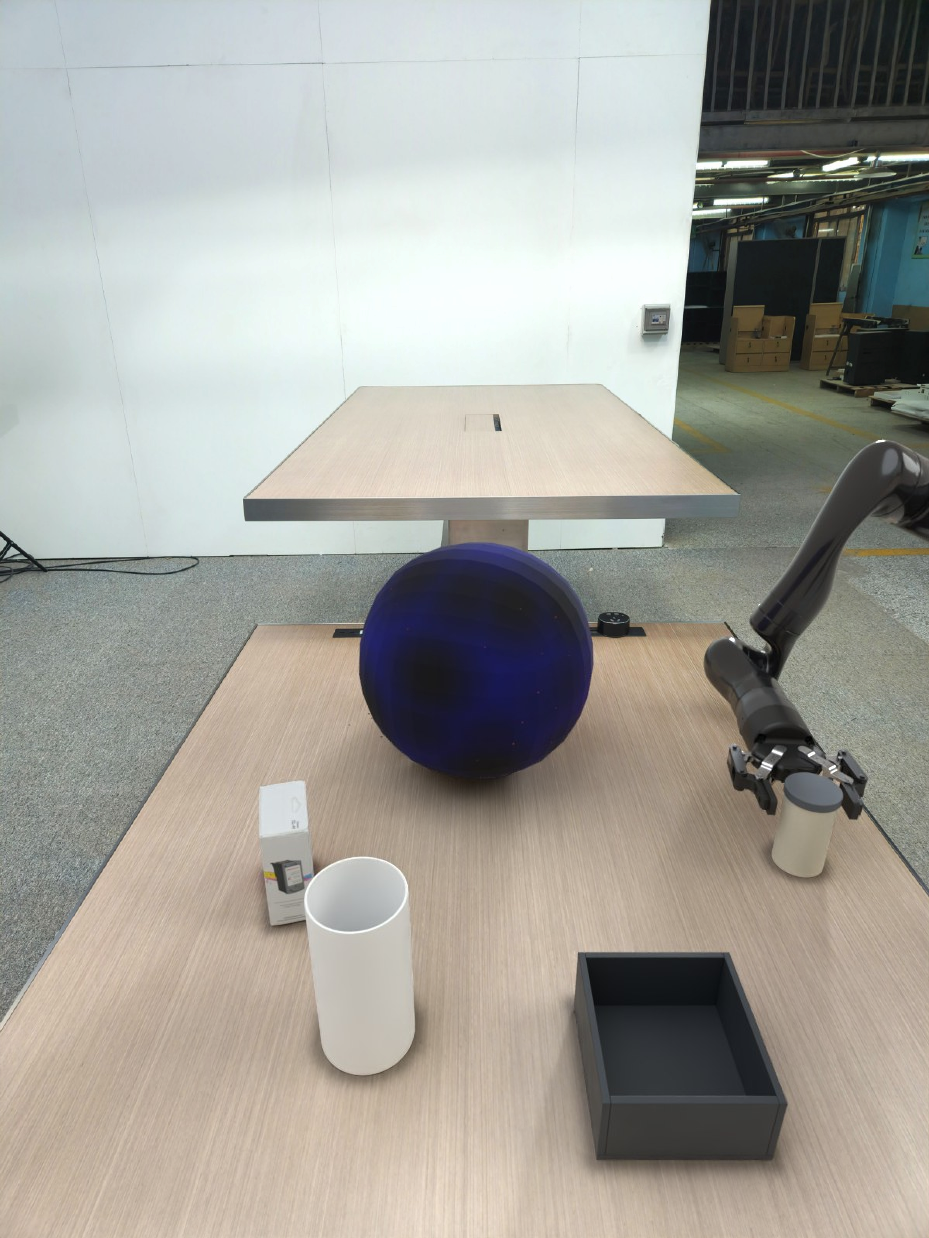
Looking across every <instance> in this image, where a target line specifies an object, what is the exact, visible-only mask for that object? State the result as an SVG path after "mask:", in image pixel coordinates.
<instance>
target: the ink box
mask: <svg viewBox="0 0 929 1238" xmlns="http://www.w3.org/2000/svg"><path fill="white" fill-rule="evenodd" d="M258 791H259V792H258V795H259V796H258V839H259V846H260V853H261V862H262V870H263V877H264V884H265V885H264V886H265V893H266V901H267V908H268V917H269V924H270V926H281V925H285V924H290V923H297V922H302V921H306V916H305V907H304V898H305V893H306V889H307V887H308V885H309V883H310V882H311V880H312V879H313V878H314V877H315V872H314V859H313V849H312V840H311V839H312V838H311V827H310V818H309V807H308V799H307V798H308V797H307V788H306V781H305V780H303V779H302V780H301V779H300V780H292V781H286V782H281V783H271V784H265V785H260V786H259V790H258Z"/></svg>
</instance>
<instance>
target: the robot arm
mask: <svg viewBox="0 0 929 1238" xmlns="http://www.w3.org/2000/svg"><path fill="white" fill-rule="evenodd" d="M868 517H869V518H872V519H873V520H875V521H877V522H880V523H882V524H884V525H887V526H889V527H891V528H895V529H897V530H900V531H903V532H905V533H907V534H909V535H911V536H913V537H915V538H918V539H919V540H921V541H924V542H925V543H927V544H929V457H925V456H924V455H922V454H920V453H918V452H916V451H914V450H913V449H911V448H909V447H907V446H905V445H903V444H901V443H898V442H897V441H894V440H889V439H882V440H876V441H874V442H872V443H871V442H870V443H869V444H868V445H866V446H864V447H863V448H862V449H860V450H859V451H858V452H857V453H856V454H855V455H854V456H853V457H852V458H851V460H850V461H849V462H848V464H847V465H846V467H845V468H844V469H843V470H842V472H841V474H840V475H839V477H838V479H837V481H836V482H835V484H834V486H833V488H832V489H831V491H830V493H829V495H828V496H827V498H826V499H825V502H824V504H823V505H822V507H821V509H820V510H819V512H818V514H817V516H816V518H815V519H814V521H813V523H812V525H811V526H810V528H809V530H808V531H807V534H806V535H805V538H804V540H803V541H802V543H801V544H800V546H799V549H798V550H797V552H796V553H795V555H794V556H793V558H792V559H791V561H790V563H789V565H787V567H786V568H785V570H784V571H783V572H782V574H781V576H780V577H779V578H778V580H776V582H775V583H774V584H773V586H771V588H770V589H769V591H768V592H767V593H766V594H765V596H764V597H763V598H762V600H761V601H760V602H759V604H758V605H757V606H756V607H755V609H754V610H753V611H752V612H751V615H750V617H749V618H748V619H749V626H750V628H751V629H752V631H753V632H754V633H755V634H756V635H757V636H759V637H760V639H762V640H763V641H764V642H765V645H764V647H762V649H759V648H757V647H755V646H753V645H751V644H748V643H746V642H744V640H743V641H742V640H740V639H739V638H737V637H733V636H722V637H719V638H717V639H715V640H714V641H712V642H711V643H710V644H709V646H708V647H706V650H705V653H704V656H703V662H702V663H703V664H702V666H703V671H704V675H705V677H706V678H707V680H708V682H709V683H710V684H711V685H712V687H713V688H714V689H715V690H716V691H717V692H718V694H719V695H720V696H721V697H722V698H723V699H724V700H726V701H727V702H728V704H729V705H730V707H731V710H732V712H733V714H734V716H735V719H736V724H737V727H738V731H739V732H738V733H739V734H740V736H741V738H742V740H743V742H744V744H745V746H746V749H747V750H742V749H741V746H740V745H738V744H735V743H731V744H729V747H728V752H727V753H728V754H727V758H726V759H727V760H726V765H727V769H728V773H729V776H730V780H731V784H732V787H733V789H734V790H735V791H738V792H744V791H745V790H747V791H749V792H751V794H752V795H753V796H754V797H755V800H756V802H757V804H758V807H759V809H761V811H765V813H766V815H767V816H776V814H777V810H778V804H779V803H778V802H779V801H778V797H777V795H776V792H775V791H774V787H773V785H774V784H776V782H780V783H781V784H784V783H785V780H786V778H787V777H788V776H789V775H791V774H794V773H800V772H805V773H813V774H817V775H821V773H822V775H821V776H823V777H826V778H828V779H830V780H831V781H833V782H834V780H835V781H836V782H839V785H838V786H839V787H840V789H841V790H842V792H843V800H842V804H841V806H840V807H841V808H842V809H843V812H844V814H845V815H846V817H847V818H848V820H850V821H858V820H859V817H860V816H862V813H863V808H864V800H863V799H862V798H863V797H864V796H865V790H866V786H867V783H868V780H869V777H868V775H867V774H866V773H865V771H864V770H863V768H862V767H861V766H860V765H859V763H858V762H857V761H856V759H855V758H854V757H853V756H852V754H851V753H850V751H849V750H847V749H845V748H844V749H843V748H839V749H838V750H837V754H826V753H825V752H823V751H822V750H820V749H819V748H818V746H817V745H816V742H815V739H814V736H813V734H812V732H811V731H810V729H809V727H808V725H807V724H806V722H805V721H804V719H803V717H802V715H801V714H800V712H799V710H798V709H797V707H796V706H795V704H794V703H793V702H792V701H791V699H790V698H788V696H787V694H786V692H785V690H784V689H783V687H782V686H781V684H780V683H779V680H780V677H781V674H782V672H783V670H784V667H785V665H786V663H787V660H788V659H789V657H790V655H791V652H792V651H793V649H794V647H795V645H796V643H797V642H798V640H799V638H801V636H802V635H803V634H804V633H805V631H806V630H807V629H808V628H809V627H810V626H811V624H812V623H813V622H814V621H815V620H816V619H817V617H818V616H819V615H820V614H821V612H822V611H823V610H824V608H825V607H826V605H827V603H828V601H829V600H830V597H831V595H832V592H833V590H834V589H833V588H834V585H835V581H836V577H837V572H838V567H839V565H840V564H839V563H840V560H841V557H842V555H843V552H844V550H845V547H846V545H847V543H848V542H849V540H850V538H851V537H852V536H853V534H854V533H855V531H856V530H857V529H858V528H859V527H860V526H861V525H862V524H863V523H864V522H865V521H866V520H867V518H868ZM748 763H750V764H751V765H752V766H753V767H754V768H755V769H757V770H756V771H755V772H754V773H750V772H749V771H748V768H747V765H748Z"/></svg>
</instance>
